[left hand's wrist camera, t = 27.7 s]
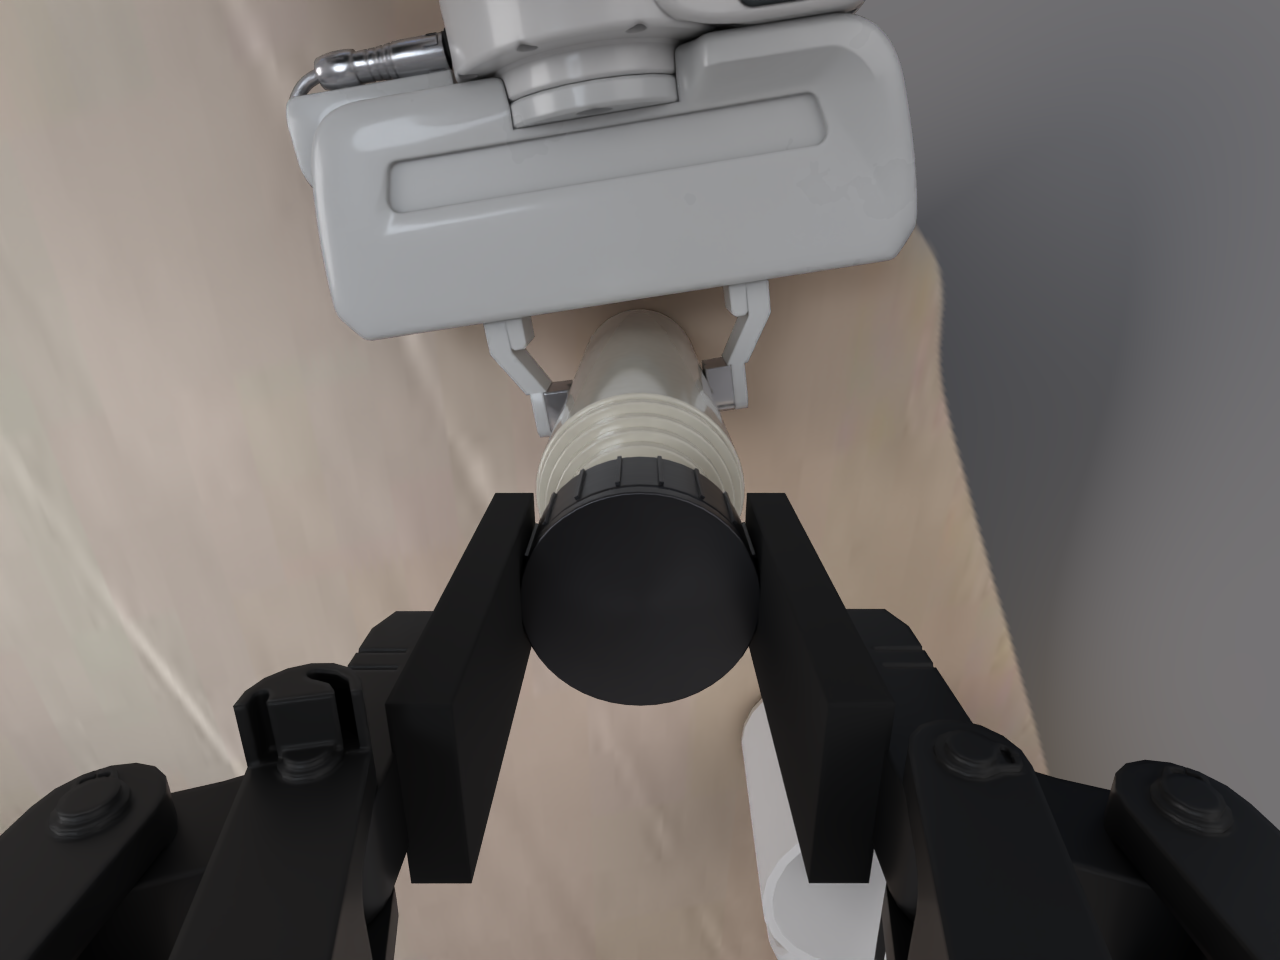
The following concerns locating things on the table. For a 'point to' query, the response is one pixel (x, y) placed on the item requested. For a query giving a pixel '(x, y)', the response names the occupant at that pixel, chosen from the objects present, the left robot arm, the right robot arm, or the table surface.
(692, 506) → the cap
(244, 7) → the table surface
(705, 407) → the bottle
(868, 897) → the mug
